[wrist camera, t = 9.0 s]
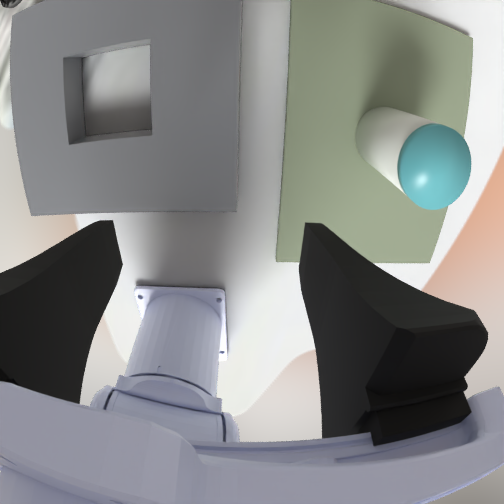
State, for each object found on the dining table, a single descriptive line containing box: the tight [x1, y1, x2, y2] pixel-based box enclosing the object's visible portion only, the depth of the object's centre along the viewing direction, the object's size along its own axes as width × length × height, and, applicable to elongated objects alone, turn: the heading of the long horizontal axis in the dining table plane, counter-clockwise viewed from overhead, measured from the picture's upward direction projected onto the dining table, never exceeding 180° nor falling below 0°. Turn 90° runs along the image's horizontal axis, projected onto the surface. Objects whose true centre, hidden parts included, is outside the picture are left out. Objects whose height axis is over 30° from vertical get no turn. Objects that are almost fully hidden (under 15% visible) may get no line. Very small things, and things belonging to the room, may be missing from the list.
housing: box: [10, 0, 242, 216], centre depth 16 cm, size 16×16×2 cm
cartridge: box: [355, 107, 471, 210], centre depth 15 cm, size 4×4×7 cm
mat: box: [276, 0, 473, 263], centre depth 18 cm, size 20×14×1 cm
